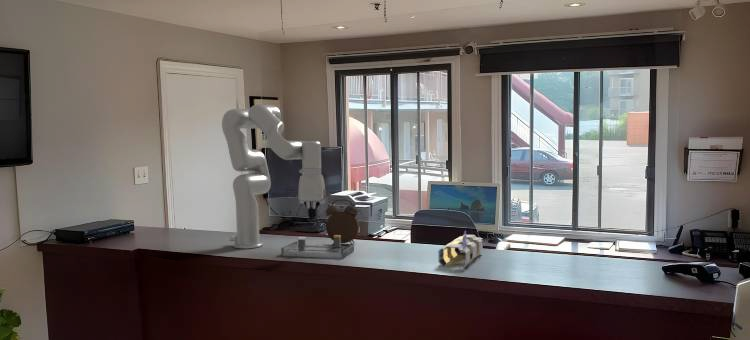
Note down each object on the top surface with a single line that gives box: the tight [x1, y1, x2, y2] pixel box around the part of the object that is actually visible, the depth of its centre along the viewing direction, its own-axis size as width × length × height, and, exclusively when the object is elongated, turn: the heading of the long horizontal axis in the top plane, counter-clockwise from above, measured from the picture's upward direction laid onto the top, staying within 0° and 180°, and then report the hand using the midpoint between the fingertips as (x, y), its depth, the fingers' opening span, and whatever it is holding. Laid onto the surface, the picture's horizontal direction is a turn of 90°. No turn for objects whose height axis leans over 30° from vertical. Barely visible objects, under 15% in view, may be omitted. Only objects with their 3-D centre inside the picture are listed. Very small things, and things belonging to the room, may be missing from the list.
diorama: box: [438, 230, 484, 269], centre depth 207 cm, size 25×10×13 cm, turn 156°
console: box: [280, 241, 355, 260], centre depth 223 cm, size 26×14×3 cm, turn 75°
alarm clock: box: [325, 198, 360, 246], centre depth 241 cm, size 15×7×20 cm, turn 84°
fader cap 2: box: [333, 235, 342, 247], centre depth 225 cm, size 2×2×5 cm
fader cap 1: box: [297, 236, 306, 250], centre depth 221 cm, size 2×2×5 cm
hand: (312, 218), depth 219 cm, fingers closed
